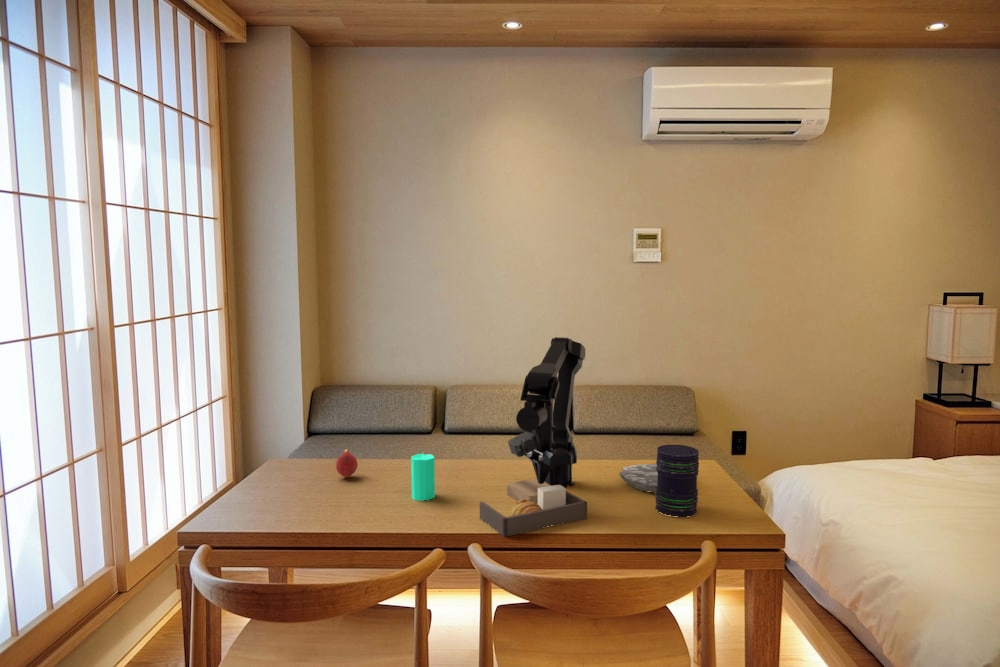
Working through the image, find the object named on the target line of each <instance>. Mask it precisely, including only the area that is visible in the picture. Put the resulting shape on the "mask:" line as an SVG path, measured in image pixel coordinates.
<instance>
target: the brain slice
mask: <svg viewBox="0 0 1000 667" xmlns="http://www.w3.org/2000/svg"><path fill="white" fill-rule="evenodd" d="M656 467H657V464H656V463H646V464H645V463H643V464H634V465H628V466H627V465H626V466H624V467H622V468H621V469H622V471H620V473H619V474H618V475H619V476H620V478H621V479H622V480H624V482H626V483H627V482H628V483H627V484H628V485H629V486H630V487H631V486H633V487H632V488H634V489H635V488H636V489H635V490H637V489H639V490H642V491H641V492H643V491H651V492H653V493H656V486H657V477H658V473H657V469H656ZM639 490H638V491H639ZM651 492H650V493H651ZM653 493H652V494H653Z"/></svg>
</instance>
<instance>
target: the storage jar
mask: <svg viewBox="0 0 1000 667" xmlns="http://www.w3.org/2000/svg"><path fill="white" fill-rule="evenodd" d="M656 451H657V455H656V463H655V464H657V467H656V469H657V473H658V477H657V486H656V494H655V504H656V505H655V510H656V509H657V510H658V511H659V512H661V513H663V514H666V515H671V516H678V517H687V516H692V515H695V514H696V513H698V510H697V507H698V501H699V499H698V498H699V497H698V495H699V490H698V489H697V485H698V484H697V483H698V475H699V472H700V471H699V467H700V466H699V465H700V461H699V454H700V453H699V452H700V451H699V449H697V448H696V447H693V446H690V445H689V446H688V445H683V444H664V445H660V446H658V447H657V448H656ZM696 515H697V514H696ZM696 515H695V516H696ZM692 517H693V516H692Z"/></svg>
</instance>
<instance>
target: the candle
mask: <svg viewBox="0 0 1000 667" xmlns="http://www.w3.org/2000/svg"><path fill="white" fill-rule="evenodd" d="M435 462H436V460H435V456H434V455H433V454H427V453H426V454H425V453H417V454H414V455H412V456H411V457H410V465H411V499H413V500H414V501H418V500H419V501H418V502H421V501H422V502H424V500H427V501H430V500H429V499H432V498H433V499H435V498H436V480H435V479H436V478H435V477H436V471H435V470H436V463H435ZM434 497H435V498H434ZM433 499H432V500H433Z"/></svg>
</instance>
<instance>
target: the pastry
mask: <svg viewBox="0 0 1000 667" xmlns="http://www.w3.org/2000/svg"><path fill="white" fill-rule="evenodd" d="M539 510H542V509H541V507H540V506H539V505H538V504H536V503H535V502H530V501H529V500H527V499H521V500H519V501H516V502H515V503H514V504H513V505H512V507H511V510H510V511H511V516H515V515H520V514H525V513H530V512H534V511H539Z"/></svg>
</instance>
